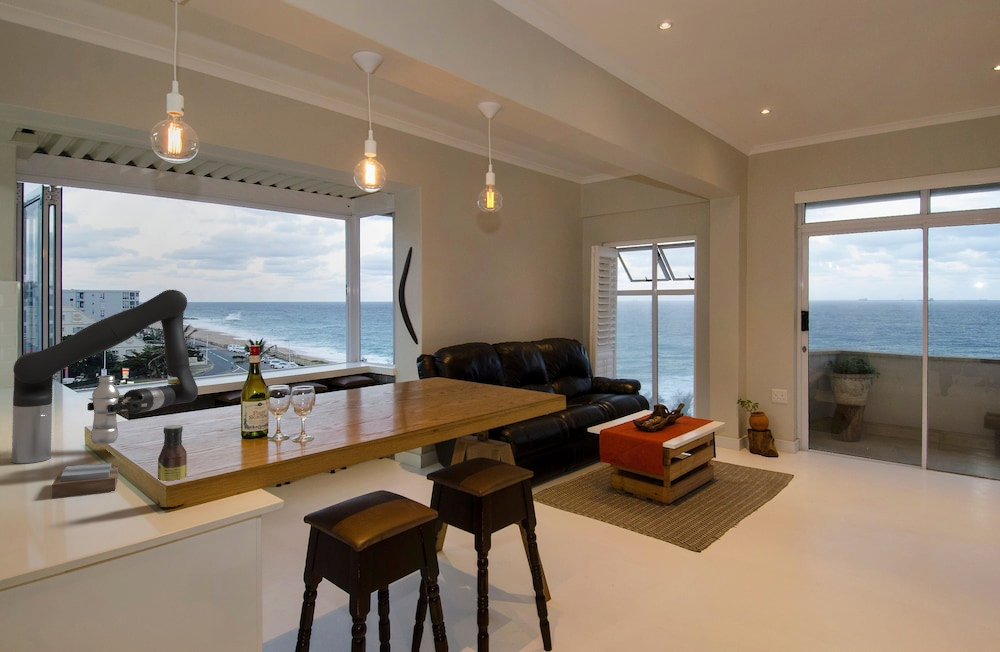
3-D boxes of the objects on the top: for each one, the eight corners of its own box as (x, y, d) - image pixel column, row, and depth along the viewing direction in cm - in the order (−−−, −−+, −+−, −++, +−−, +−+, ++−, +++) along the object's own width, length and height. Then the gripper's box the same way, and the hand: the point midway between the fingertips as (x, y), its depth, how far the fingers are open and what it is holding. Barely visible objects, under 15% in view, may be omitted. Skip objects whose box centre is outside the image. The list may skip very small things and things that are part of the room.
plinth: (59, 484, 149) (60, 465, 149) (117, 478, 156) (118, 460, 155) (51, 498, 138) (52, 478, 138) (114, 491, 145) (115, 472, 144)
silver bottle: (123, 443, 163) (126, 376, 162) (100, 447, 156) (103, 378, 156) (107, 440, 165) (110, 374, 165) (84, 445, 158) (87, 376, 158)
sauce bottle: (165, 500, 139) (167, 422, 139) (191, 500, 140) (193, 423, 140) (151, 509, 133) (153, 428, 133) (178, 510, 133) (180, 428, 133)
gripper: (124, 386, 176) (77, 393, 159) (165, 389, 174) (121, 396, 157) (123, 409, 176) (76, 418, 159) (163, 413, 174) (120, 422, 157)
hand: (98, 407), depth 158 cm, fingers closed on silver bottle, 6 cm apart
